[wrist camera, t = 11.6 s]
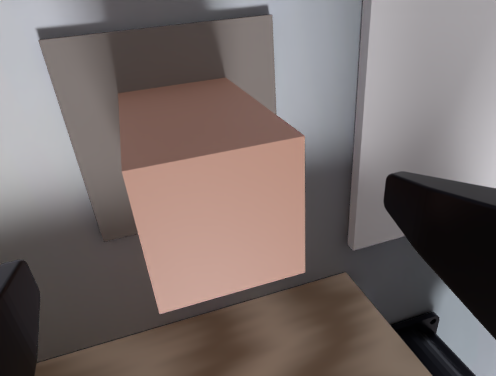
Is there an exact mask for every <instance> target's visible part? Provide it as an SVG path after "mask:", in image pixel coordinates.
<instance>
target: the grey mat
mask: <svg viewBox="0 0 496 376" xmlns="http://www.w3.org/2000/svg"><path fill="white" fill-rule="evenodd" d="M400 171H405V172H410V173H416V174H421V175H427V176H432V177H437V178H443V179H448V180H454V181H459V182H464V183H470V184H475V185H480V186H486V187H491V188H496V0H363V9H362V25H361V40H360V56H359V72H358V88H357V103H356V119H355V135H354V151H353V167H352V182H351V198H350V214H349V230H348V245H349V247H350V248H351V249H352V250H353V251H354V250H358V249H361V248H365V247H368V246H372V245H375V244H379V243H383V242H386V241H390V240H393V239H397V238H400V237H404V236H405V235H404V234H403V232H402V231H401V230H400V228H399V227H398V226H397V224H396V223H395V222H394V220H393V219H392V217H391V216H390V215H389V213H388V212H387V211H386V209H385V207H384V202H383V200H384V191H385V182H386V178H387V176H388V175H389V174H391V173H395V172H400Z"/></svg>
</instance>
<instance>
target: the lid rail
mask: <svg viewBox="0 0 496 376" xmlns="http://www.w3.org/2000/svg"><path fill="white" fill-rule="evenodd" d="M35 376H432V375H431V373H430V372H429V371H428V370H427V369H426V367H425V366H424V365H423V364H422V363H421V361H420V360H419V359H418V358H417V357H416V355H415V354H414V353H413V352H412V351H411V349H410V348H409V347H408V346H407V345H406V343H405V342H404V341H403V340H402V339H401V338H400V336H399V335H398V334H397V333H396V332H395V330H394V329H393V328H392V327H391V326H390V324H389V323H388V322H387V321H386V320H385V318H384V317H383V316H382V315H381V314H380V312H379V311H378V310H377V309H376V308H375V306H374V305H373V304H372V303H371V302H370V300H369V299H368V298H367V297H366V296H365V294H364V293H363V292H362V291H361V290H360V289H359V287H358V286H357V285H356V284H355V283H354V281H353V280H352V279H351V278H350V277H349V275H348V274H347V273H346V272H345V273H341V274H338V275H334V276H331V277H328V278H324V279H321V280H317V281H314V282H311V283H307V284H304V285H300V286H297V287H294V288H290V289H287V290H283V291H280V292H277V293H273V294H270V295H266V296H263V297H260V298H256V299H253V300H250V301H246V302H243V303H239V304H236V305H233V306H229V307H226V308H222V309H219V310H216V311H212V312H209V313H205V314H202V315H199V316H195V317H192V318H188V319H185V320H182V321H178V322H175V323H171V324H168V325H165V326H161V327H158V328H155V329H151V330H148V331H144V332H141V333H138V334H134V335H131V336H127V337H124V338H121V339H117V340H114V341H110V342H107V343H104V344H100V345H97V346H93V347H90V348H87V349H83V350H80V351H76V352H73V353H70V354H66V355H63V356H60V357H56V358H53V359H49V360H46V361H43V362H39V363H36V370H35Z"/></svg>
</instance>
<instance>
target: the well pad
mask: <svg viewBox="0 0 496 376" xmlns="http://www.w3.org/2000/svg"><path fill="white" fill-rule="evenodd" d="M38 41H39V44H40V47H41V50H42V53H43V56H44V59H45V62H46V65H47V69H48V72H49V75H50V78H51V81H52V84H53V87H54V90H55V93H56V96H57V100H58V103H59V106H60V109H61V112H62V115H63V118H64V121H65V124H66V127H67V130H68V134H69V137H70V140H71V143H72V146H73V149H74V152H75V155H76V158H77V161H78V164H79V168H80V171H81V174H82V177H83V180H84V183H85V186H86V189H87V192H88V195H89V199H90V202H91V205H92V208H93V211H94V214H95V217H96V220H97V223H98V226H99V229H100V233H101V236H102V239H103V242H106V241H110V240H114V239H119V238H123V237H127V236H131V235H136V234H138V231H137V227H136V224H135V220H134V216H133V212H132V209H131V205H130V201H129V197H128V193H127V190H126V186H125V182H124V178H123V175H122V167H121V146H120V125H119V104H118V93H123V92H130V91H137V90H144V89H151V88H157V87H164V86H171V85H178V84H185V83H191V82H198V81H205V80H212V79H219V78H225V77H226V78H227V79H228V80H230V81H231V82H233V83H234V84H235V85H237V86H238V87H239V88H241V89H242V90H243V91H245V92H246V93H247V94H249V95H250V96H251V97H253V98H254V99H255V100H257V101H258V102H259V103H261V104H262V105H264V106H265V107H266V108H268V109H269V110H270V111H272V112H273V113H274V114H276V94H275V70H274V46H273V22H272V15H270V14H269V15H260V16H251V17H241V18H232V19H223V20H214V21H205V22H196V23H187V24H177V25H168V26H159V27H150V28H141V29H132V30H123V31H113V32H104V33H95V34H86V35H77V36H68V37H59V38H50V39H40V40H38Z"/></svg>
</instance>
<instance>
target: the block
mask: <svg viewBox="0 0 496 376" xmlns="http://www.w3.org/2000/svg"><path fill="white" fill-rule="evenodd" d="M118 104H119V125H120V146H121V167H122V175H123V178H124V182H125V186H126V190H127V193H128V197H129V201H130V205H131V209H132V212H133V216H134V220H135V224H136V227H137V231H138V235H139V239H140V243H141V246H142V250H143V254H144V258H145V261H146V265H147V269H148V273H149V277H150V280H151V284H152V288H153V292H154V295H155V299H156V303H157V307H158V310H159V314H162V313H166V312H169V311H173V310H176V309H180V308H183V307H187V306H190V305H194V304H197V303H201V302H204V301H208V300H211V299H215V298H218V297H222V296H225V295H229V294H232V293H236V292H239V291H243V290H246V289H250V288H253V287H256V286H260V285H263V284H267V283H270V282H274V281H277V280H281V279H284V278H288V277H291V276H295V275H298V274H302V273H305V136H304V135H303V134H301V133H300V132H299V131H297V130H296V129H295V128H293V127H292V126H291V125H289V124H288V123H286V122H285V121H284V120H282V119H281V118H280V117H278V116H277V115H276V114H274V113H273V112H272V111H270V110H269V109H268V108H266V107H265V106H264V105H262V104H261V103H259V102H258V101H257V100H255V99H254V98H253V97H251V96H250V95H249V94H247V93H246V92H245V91H243V90H242V89H241V88H239V87H238V86H237V85H235V84H234V83H233V82H231V81H230V80H228V79H227V78H226V77H225V78H219V79H212V80H205V81H198V82H191V83H185V84H178V85H171V86H164V87H157V88H151V89H144V90H137V91H130V92H123V93H118Z"/></svg>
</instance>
